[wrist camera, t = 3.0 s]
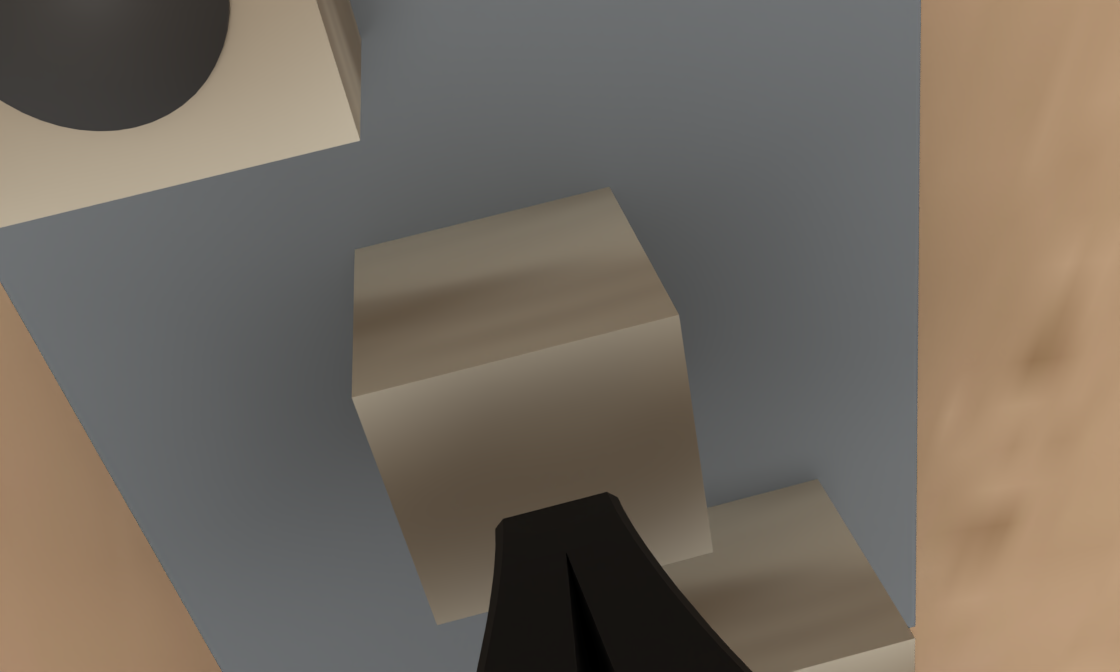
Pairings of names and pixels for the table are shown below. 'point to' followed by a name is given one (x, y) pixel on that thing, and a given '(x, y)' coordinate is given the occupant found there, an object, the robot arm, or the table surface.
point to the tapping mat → (477, 192)
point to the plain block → (523, 386)
